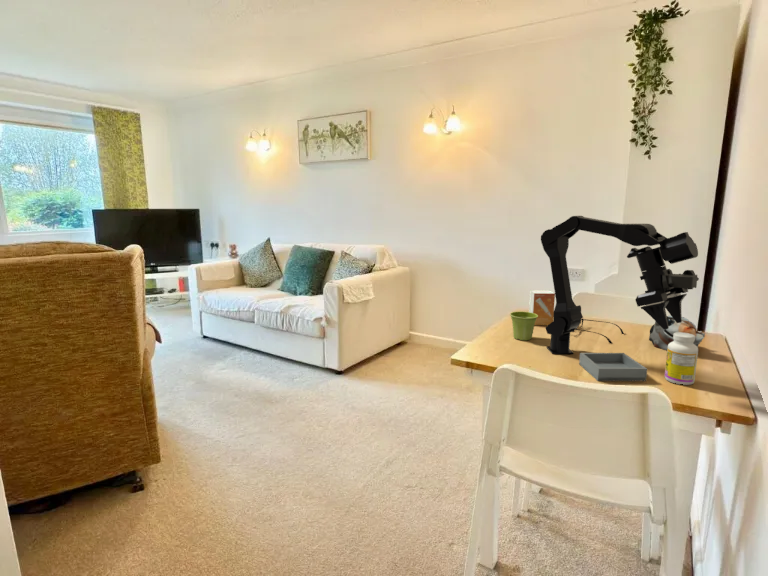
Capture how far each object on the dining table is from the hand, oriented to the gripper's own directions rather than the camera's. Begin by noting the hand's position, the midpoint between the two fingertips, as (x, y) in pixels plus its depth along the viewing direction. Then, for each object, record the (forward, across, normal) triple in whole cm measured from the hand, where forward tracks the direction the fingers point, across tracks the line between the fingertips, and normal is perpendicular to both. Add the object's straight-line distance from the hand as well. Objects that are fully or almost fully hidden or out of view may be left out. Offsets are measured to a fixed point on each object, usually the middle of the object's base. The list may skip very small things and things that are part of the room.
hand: (672, 325), depth 114 cm
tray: (+9, -6, +17) cm, 20 cm away
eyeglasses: (+2, +26, +35) cm, 44 cm away
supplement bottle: (+15, +2, +4) cm, 16 cm away
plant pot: (-4, +3, +49) cm, 49 cm away
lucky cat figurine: (+11, +31, +13) cm, 35 cm away
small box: (-6, +25, +55) cm, 60 cm away
